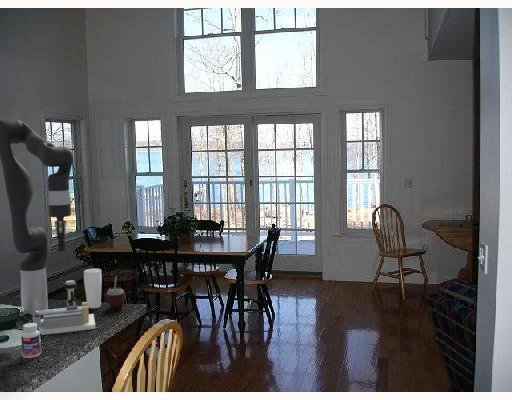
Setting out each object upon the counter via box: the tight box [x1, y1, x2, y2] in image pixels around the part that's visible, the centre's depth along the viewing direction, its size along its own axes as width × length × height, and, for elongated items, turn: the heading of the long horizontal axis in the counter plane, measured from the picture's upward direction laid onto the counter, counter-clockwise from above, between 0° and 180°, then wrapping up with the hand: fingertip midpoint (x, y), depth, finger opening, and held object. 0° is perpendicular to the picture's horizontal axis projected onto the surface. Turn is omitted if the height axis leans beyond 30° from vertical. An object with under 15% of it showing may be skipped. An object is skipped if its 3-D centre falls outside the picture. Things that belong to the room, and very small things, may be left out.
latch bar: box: [34, 304, 83, 317], centre depth 195 cm, size 18×4×2 cm, turn 109°
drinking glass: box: [83, 268, 103, 309], centre depth 218 cm, size 7×7×15 cm
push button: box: [63, 279, 78, 307], centre depth 220 cm, size 7×5×10 cm
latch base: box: [32, 301, 96, 336], centre depth 195 cm, size 22×13×7 cm, turn 109°
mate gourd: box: [105, 274, 126, 312], centre depth 215 cm, size 8×8×15 cm
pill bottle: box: [20, 322, 42, 359], centre depth 169 cm, size 5×5×10 cm
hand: (61, 250), depth 196 cm, fingers closed
